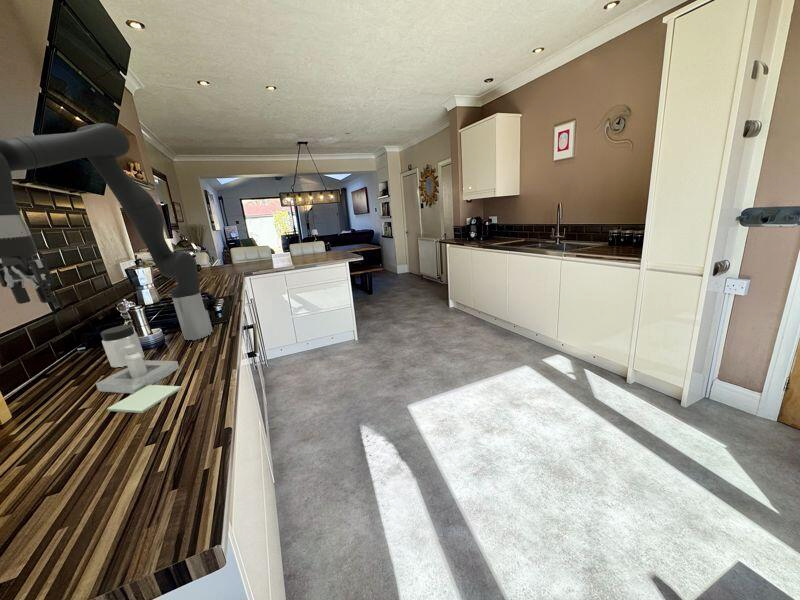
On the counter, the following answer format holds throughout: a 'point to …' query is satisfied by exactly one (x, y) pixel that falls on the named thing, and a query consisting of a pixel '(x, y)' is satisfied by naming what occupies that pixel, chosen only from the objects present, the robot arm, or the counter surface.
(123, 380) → the collar block
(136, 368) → the eye dropper bottle
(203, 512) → the counter surface
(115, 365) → the jar
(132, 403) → the sage mat
